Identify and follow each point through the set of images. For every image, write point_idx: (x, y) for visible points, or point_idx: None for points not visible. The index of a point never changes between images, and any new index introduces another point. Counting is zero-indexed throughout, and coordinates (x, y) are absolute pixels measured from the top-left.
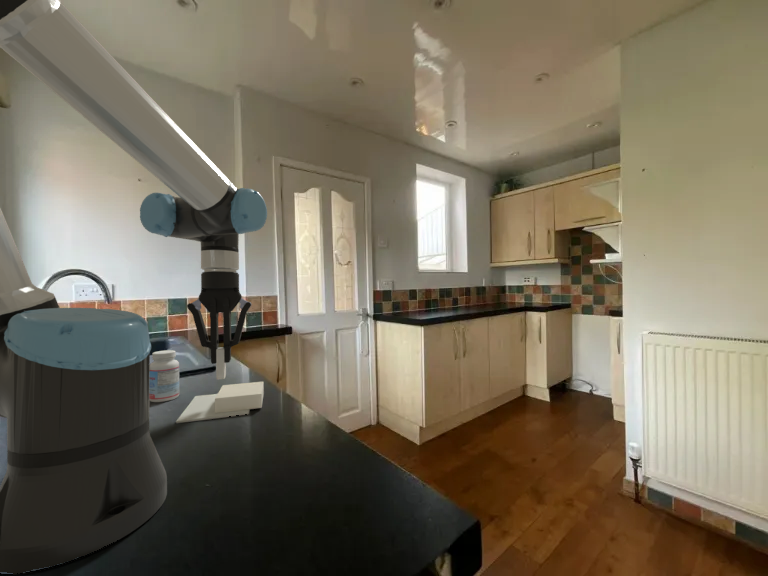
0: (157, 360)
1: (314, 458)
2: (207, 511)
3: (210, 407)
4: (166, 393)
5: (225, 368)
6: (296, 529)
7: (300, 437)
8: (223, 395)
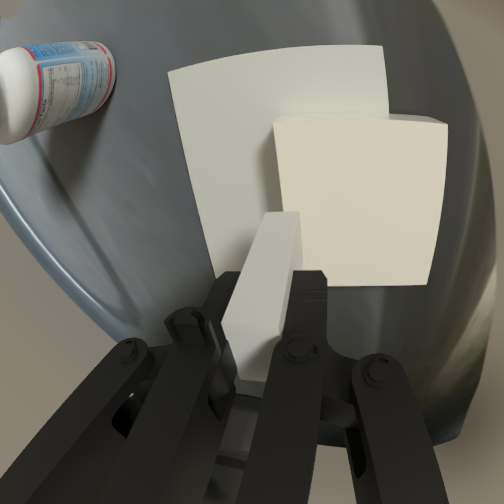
0: None
1: (427, 404)
2: (331, 430)
3: (266, 206)
4: (89, 108)
5: (296, 239)
6: None
7: (436, 373)
8: (311, 265)
